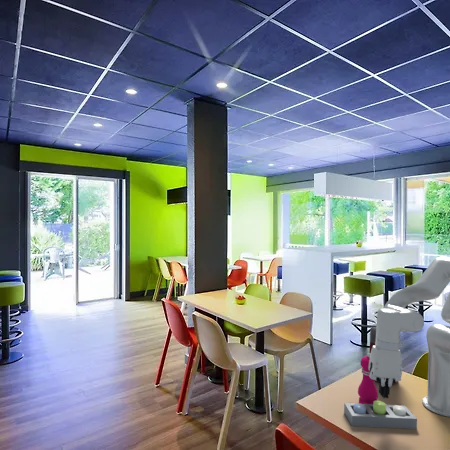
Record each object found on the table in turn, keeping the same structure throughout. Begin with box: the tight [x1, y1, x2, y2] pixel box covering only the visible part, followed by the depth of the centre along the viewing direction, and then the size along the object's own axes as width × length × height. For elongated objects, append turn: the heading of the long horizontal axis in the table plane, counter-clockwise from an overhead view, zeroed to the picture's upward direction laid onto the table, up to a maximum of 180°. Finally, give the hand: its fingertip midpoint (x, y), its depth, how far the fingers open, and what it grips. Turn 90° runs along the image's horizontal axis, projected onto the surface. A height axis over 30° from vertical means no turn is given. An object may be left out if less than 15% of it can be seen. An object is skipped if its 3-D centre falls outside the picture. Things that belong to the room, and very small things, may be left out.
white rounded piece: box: [393, 404, 406, 416], centre depth 116 cm, size 4×4×4 cm
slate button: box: [353, 403, 366, 414], centre depth 117 cm, size 4×4×4 cm
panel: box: [343, 402, 418, 430], centre depth 117 cm, size 22×8×4 cm, turn 88°
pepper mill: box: [357, 352, 379, 404], centre depth 127 cm, size 7×7×20 cm
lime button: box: [373, 399, 387, 415], centre depth 117 cm, size 4×4×4 cm
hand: (383, 396), depth 116 cm, fingers closed
